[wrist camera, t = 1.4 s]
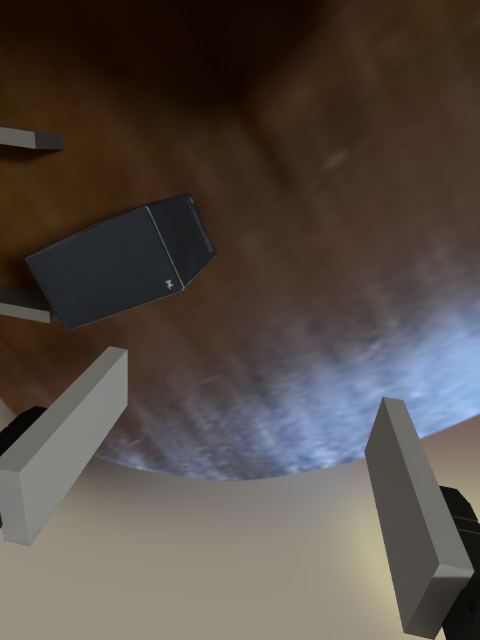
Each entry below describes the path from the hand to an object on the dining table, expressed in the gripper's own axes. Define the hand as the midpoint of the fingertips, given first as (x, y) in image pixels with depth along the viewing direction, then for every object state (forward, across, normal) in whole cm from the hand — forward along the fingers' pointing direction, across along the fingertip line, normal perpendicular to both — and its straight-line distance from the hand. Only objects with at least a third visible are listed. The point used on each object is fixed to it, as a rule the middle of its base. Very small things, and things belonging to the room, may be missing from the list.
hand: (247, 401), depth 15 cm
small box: (+22, -12, 0) cm, 25 cm away
